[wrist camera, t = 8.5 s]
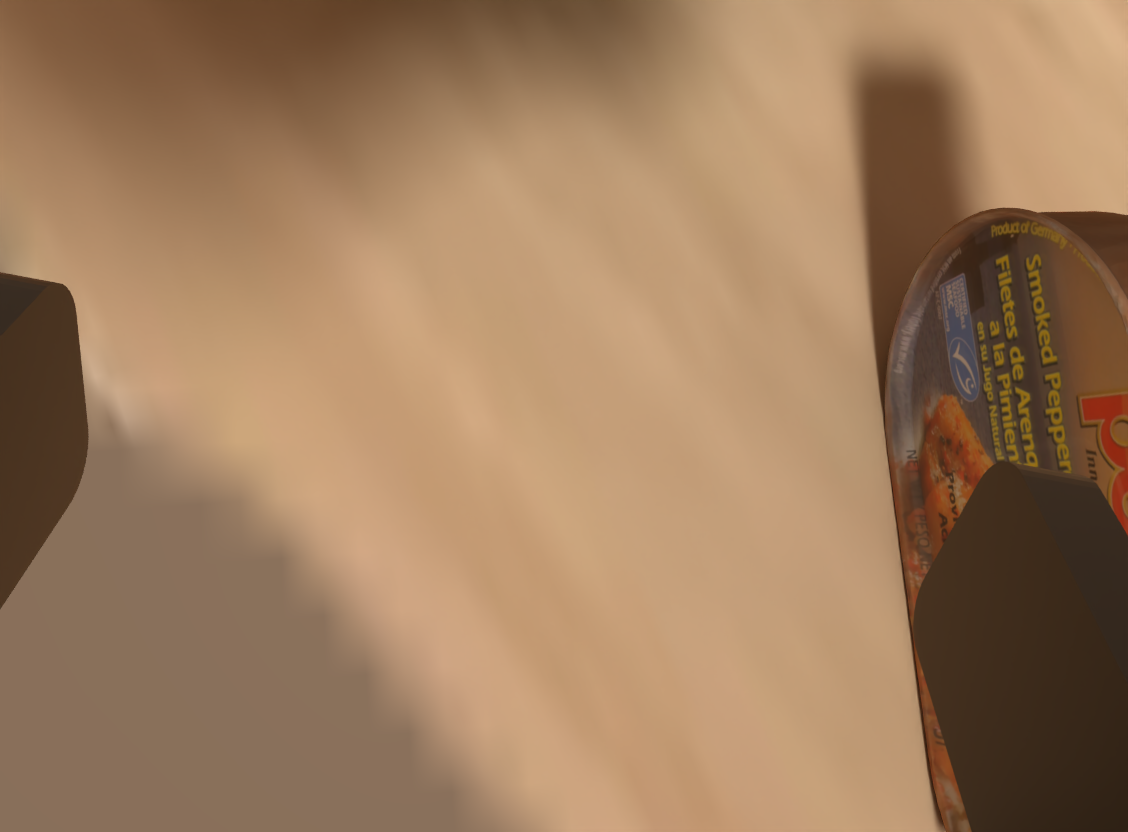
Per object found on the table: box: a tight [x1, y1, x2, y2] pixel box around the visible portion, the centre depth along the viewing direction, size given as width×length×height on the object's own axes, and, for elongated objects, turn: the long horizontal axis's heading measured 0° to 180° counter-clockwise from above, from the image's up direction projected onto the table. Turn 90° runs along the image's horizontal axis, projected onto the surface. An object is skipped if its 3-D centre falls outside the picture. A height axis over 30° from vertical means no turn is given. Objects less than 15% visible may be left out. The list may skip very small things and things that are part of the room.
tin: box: [885, 208, 1128, 832], centre depth 19 cm, size 15×3×8 cm, turn 5°
